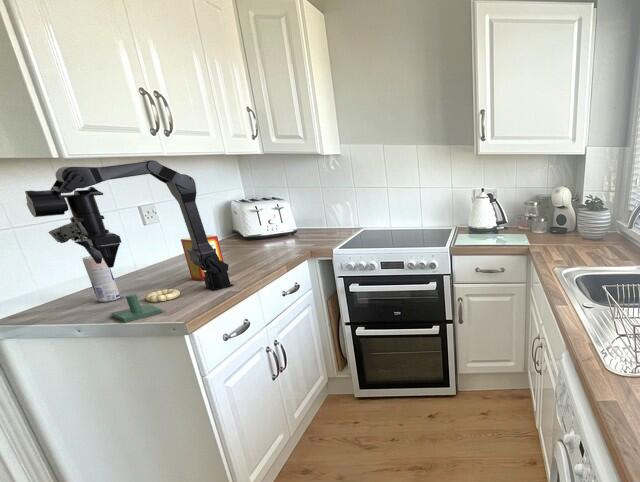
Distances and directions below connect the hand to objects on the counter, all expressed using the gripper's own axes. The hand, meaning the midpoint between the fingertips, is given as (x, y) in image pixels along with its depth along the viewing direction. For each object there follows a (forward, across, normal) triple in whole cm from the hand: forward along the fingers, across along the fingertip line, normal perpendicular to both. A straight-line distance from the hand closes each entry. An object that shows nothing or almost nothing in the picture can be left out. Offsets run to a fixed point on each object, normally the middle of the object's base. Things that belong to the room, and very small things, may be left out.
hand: (104, 265), depth 123 cm
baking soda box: (+15, -18, +33) cm, 41 cm away
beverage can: (+15, -17, +2) cm, 23 cm away
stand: (+15, +8, +1) cm, 17 cm away
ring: (+14, -3, +12) cm, 19 cm away
